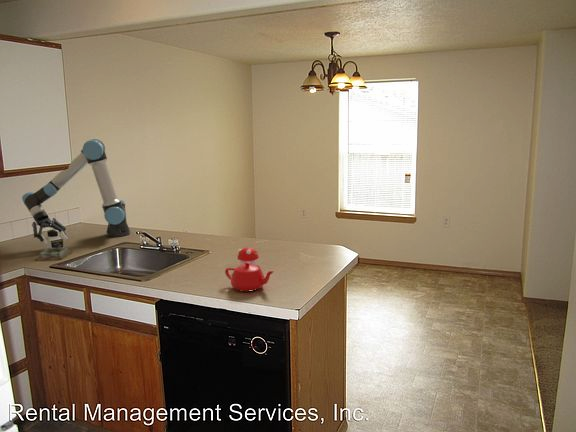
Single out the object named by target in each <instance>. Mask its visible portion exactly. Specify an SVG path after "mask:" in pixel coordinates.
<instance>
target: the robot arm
mask: <svg viewBox="0 0 576 432" xmlns="http://www.w3.org/2000/svg"><path fill="white" fill-rule="evenodd" d="M107 160H108V157H107V154H106V148H105V144H104V143H103V141H101V140H100V139H96V138H93V139H89V140H87V141H85V142H84V143H83V146H82V149H81V150H80V153H79V154H78V155H77V156H76V157H75V158H74V159H73V160H71V162H70V163H69V164H70V165H69V168H68V169H66V170H63V169H62V170H61V171H60V172H59V173H57V174H56V175H55V176H54V177H53V178H52V179H51V180H50V181H49V182H48V183H47V184H45V185H43V186H42V187H41V188H40V189H38V190H36V192H32V191H29V192H27V193H24V194H23V195H22V197H21V200H22V201H23V204H24V205H25V207H26V208H27V210H28V212H29V213H30V215H31V216H32V218H33V220H34V221H33V222H32V224H31V227H32V229H33V237H34V238H37V239H39V241H40V242H41V243H43V245H44V247H46V246H47V244H48V243H47V241H46V239H47V238H45V236H44V235H43V234H42V231H43V229H45V228H52V230H58V231H59V235H60V236H61V238H63V242H65V243H66V242H67V241H68V236H67V233H66V232H65V231H66V230H67V228H66V226H65V225H63V224H61V222H59V221H58V220H57V219H56V217H53V218H52V219H51V218H49V215H48V213H47V212H46V210H45V208H44V206H42V204H43V203H45V202H46V201H48V200H49V199H51V198H52V197H54V196H56V194H58V192H59V191H60V190H61V189H62V188H63V187H64V186H66V184H68V182H70V181H71V180H72V179H74V177H75V176H76V175H77V174H78V173H79V172H81V171H82V170H83V169H84V168H85V167H86V166H87V165H89V166H91V169H92V172H93V176H94V177H95V181H96V183H97V187H98V189H99V192H100V196H101V199H102V204H101V208H102V210H103V215H104V219H105V221H106V222H107V228H106V233H105V234H106V236H107V237H110V238H113V237H114V238H116V237H117V238H118V237H125V236H129V235H130V234H131V230H130V227H129V225H128V224H129V223H127V213H126V212H127V211H126V201H125V200H120V199H119V198H118V196H117V194H116V190H115V187H114V184H113V182H112V178H111V175H110V171H109V168H108V165H107ZM38 227H39V228H38ZM38 229H39V230H38Z"/></svg>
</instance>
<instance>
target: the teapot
mask: <svg viewBox="0 0 576 432" xmlns="http://www.w3.org/2000/svg"><path fill="white" fill-rule="evenodd" d="M244 263H245V265H238V266H236V267H235V268H234V267H227V268H225V271H224V273H225V275H226V277H227V279H228V280H230V284H231V286H232V288H234V290H236V289H237V290H236V291H239V290H242V291H249V290H255V289H258V290H260V289H262V288H263V287H264V285H266V284H267V283H269V281H270V276H271V275H272V274H273V273H274V272H275V271H274V270H270V271H268V272H267V274H266V276H265V274H264V272H263V271H262V269H261V266H259V265H256V264H255V265H250V262H244ZM229 271H233V272H232V273H231V274H232V275H230V273H229ZM259 288H260V289H259ZM242 291H241V292H242Z"/></svg>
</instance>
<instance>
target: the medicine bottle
mask: <svg viewBox="0 0 576 432" xmlns="http://www.w3.org/2000/svg"><path fill="white" fill-rule="evenodd" d="M45 239H46V241H47V243H48V244H47V246H45V247H46V248H45V250H46V249H48V248H65V247H64V239H63V237H60V232H59V231H58V230H55V229H50V230H48V231H47V238H45Z"/></svg>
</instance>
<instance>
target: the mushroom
mask: <svg viewBox="0 0 576 432" xmlns="http://www.w3.org/2000/svg"><path fill="white" fill-rule="evenodd" d="M237 253H238V254H237V260H239V264H240V265H245V263H244V262H250V265H256V260H258V259H259V257H260V256H259V254H258V251H257V250H256V249H254V248H253V247H248V246H247V247H244V248H238V249H237ZM240 265H239V266H240Z"/></svg>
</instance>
